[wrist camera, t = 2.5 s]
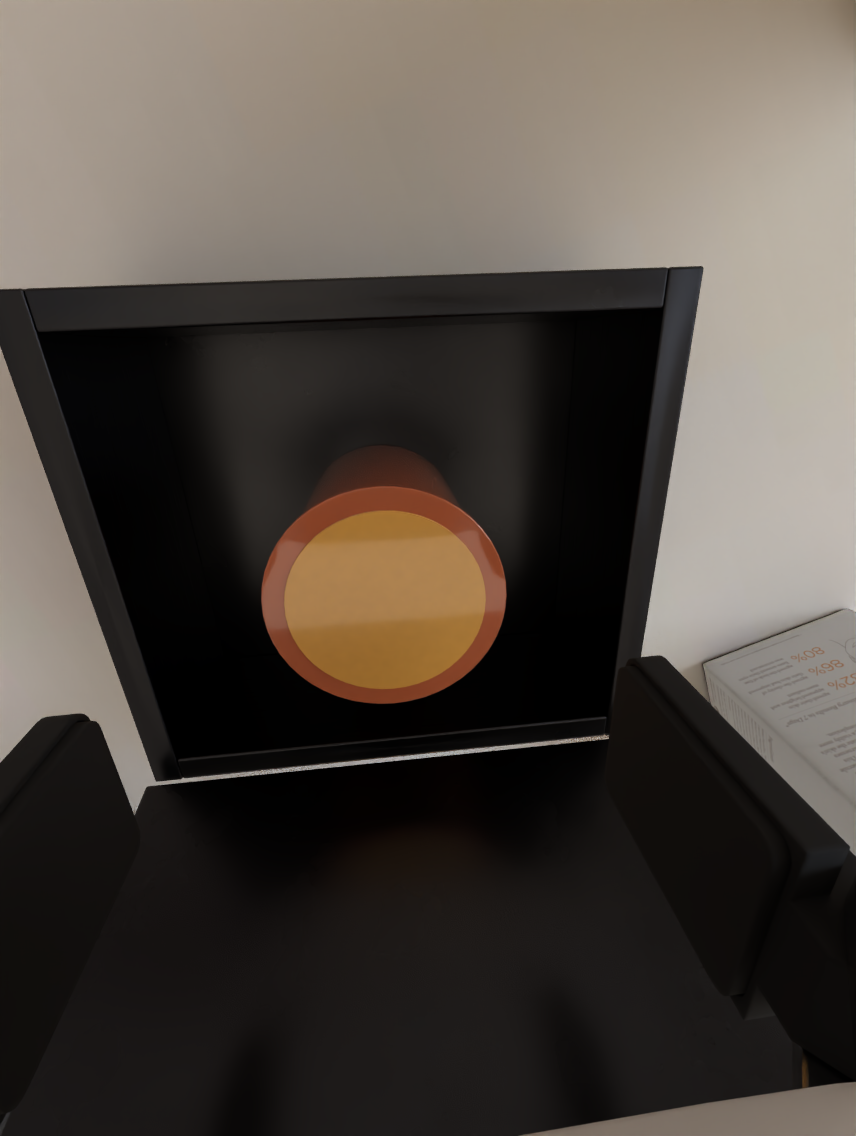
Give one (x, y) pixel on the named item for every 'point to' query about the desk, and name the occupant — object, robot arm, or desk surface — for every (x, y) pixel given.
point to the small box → (799, 711)
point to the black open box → (323, 434)
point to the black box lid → (392, 964)
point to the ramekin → (383, 581)
